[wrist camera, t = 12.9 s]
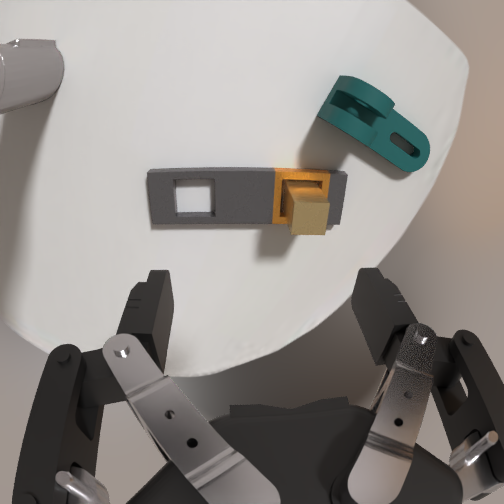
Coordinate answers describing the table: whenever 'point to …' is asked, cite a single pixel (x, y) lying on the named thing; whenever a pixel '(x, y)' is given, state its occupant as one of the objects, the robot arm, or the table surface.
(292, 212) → the block
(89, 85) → the table surface
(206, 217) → the rail
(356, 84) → the bracket
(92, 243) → the table surface
